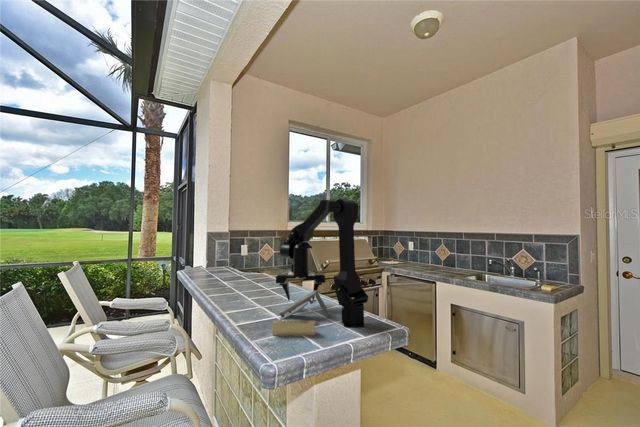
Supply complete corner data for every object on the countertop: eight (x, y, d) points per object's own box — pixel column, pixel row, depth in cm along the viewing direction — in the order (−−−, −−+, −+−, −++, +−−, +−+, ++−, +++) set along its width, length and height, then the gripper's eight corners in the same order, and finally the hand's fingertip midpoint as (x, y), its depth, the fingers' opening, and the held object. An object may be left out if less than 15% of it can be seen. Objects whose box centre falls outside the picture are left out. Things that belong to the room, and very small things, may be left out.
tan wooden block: (315, 331, 83) (315, 319, 83) (315, 335, 80) (315, 322, 80) (274, 331, 83) (274, 319, 83) (272, 335, 80) (272, 323, 80)
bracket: (331, 324, 89) (315, 296, 90) (292, 347, 89) (276, 319, 89) (330, 313, 100) (316, 289, 100) (294, 334, 99) (280, 310, 100)
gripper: (324, 257, 117) (325, 295, 117) (279, 257, 118) (280, 295, 117) (325, 260, 106) (325, 302, 106) (275, 261, 106) (275, 303, 106)
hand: (301, 300), depth 109 cm, fingers open, 9 cm apart
